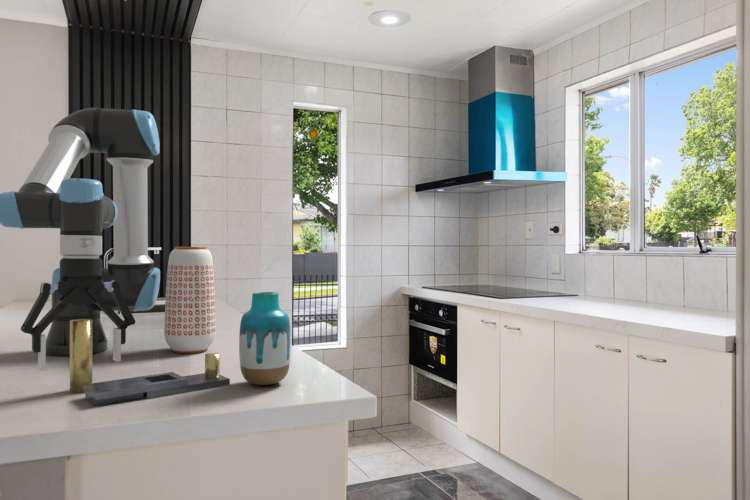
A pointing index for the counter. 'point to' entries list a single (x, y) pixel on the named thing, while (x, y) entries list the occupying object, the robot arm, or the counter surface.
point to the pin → (80, 354)
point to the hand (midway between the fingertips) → (80, 364)
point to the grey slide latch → (156, 384)
